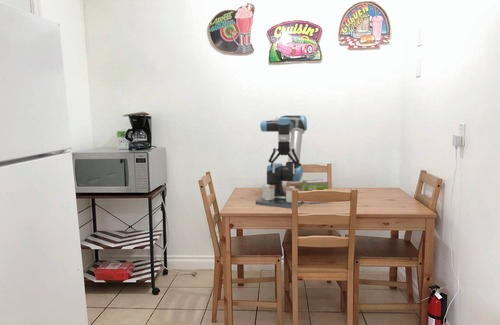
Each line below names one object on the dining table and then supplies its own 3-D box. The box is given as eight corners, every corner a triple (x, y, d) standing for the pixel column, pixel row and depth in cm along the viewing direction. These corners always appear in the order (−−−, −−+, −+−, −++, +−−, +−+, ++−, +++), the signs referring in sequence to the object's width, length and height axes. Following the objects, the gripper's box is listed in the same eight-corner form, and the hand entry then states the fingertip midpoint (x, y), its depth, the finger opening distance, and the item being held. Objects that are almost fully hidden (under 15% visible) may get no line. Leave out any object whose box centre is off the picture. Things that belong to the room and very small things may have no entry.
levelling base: (265, 199, 250) (265, 193, 249) (302, 203, 237) (303, 197, 237) (255, 204, 235) (255, 198, 235) (295, 208, 223) (295, 202, 223)
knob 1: (261, 199, 241) (261, 184, 240) (267, 198, 244) (267, 183, 243) (270, 201, 235) (270, 186, 233) (275, 200, 238) (275, 185, 236)
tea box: (308, 204, 235) (308, 182, 233) (301, 200, 245) (302, 179, 243) (328, 202, 239) (328, 181, 237) (321, 199, 249) (321, 178, 247)
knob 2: (289, 200, 237) (289, 185, 236) (296, 201, 235) (296, 185, 234) (284, 203, 230) (284, 187, 228) (292, 203, 228) (292, 188, 226)
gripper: (264, 141, 229) (264, 173, 231) (302, 141, 222) (301, 174, 224) (266, 140, 236) (266, 171, 239) (303, 141, 229) (303, 173, 231)
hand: (283, 173), depth 231 cm, fingers open, 13 cm apart
